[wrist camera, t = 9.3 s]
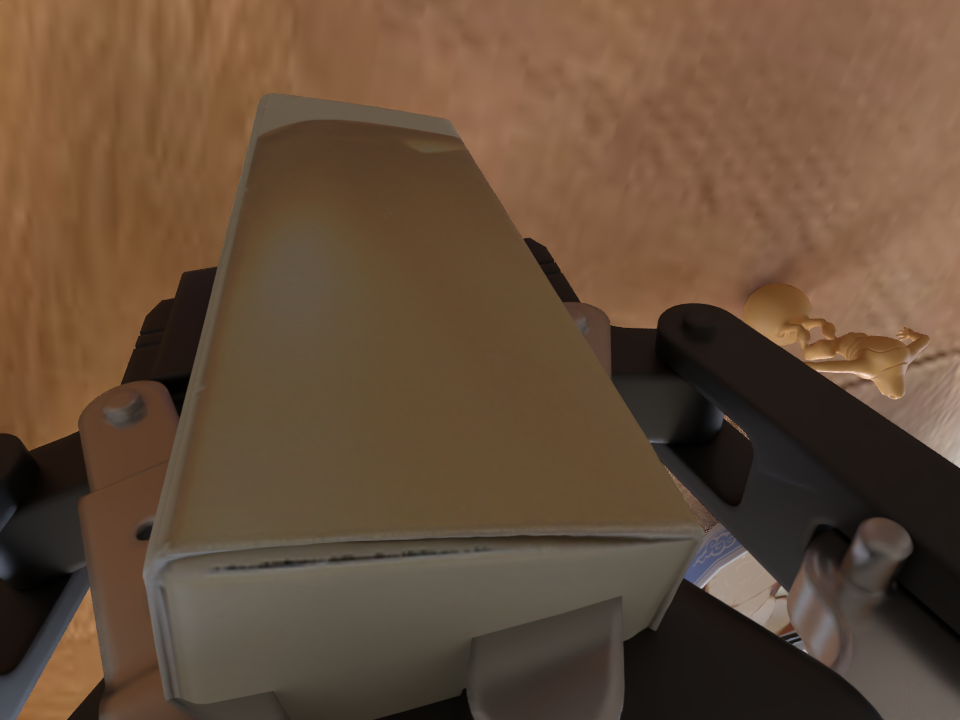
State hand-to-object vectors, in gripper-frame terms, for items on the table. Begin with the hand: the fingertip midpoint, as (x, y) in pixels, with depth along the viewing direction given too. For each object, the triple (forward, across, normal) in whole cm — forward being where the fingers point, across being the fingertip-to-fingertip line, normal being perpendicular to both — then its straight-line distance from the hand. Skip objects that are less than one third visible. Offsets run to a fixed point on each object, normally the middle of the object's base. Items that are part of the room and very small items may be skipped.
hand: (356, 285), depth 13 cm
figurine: (+19, -24, +16) cm, 34 cm away
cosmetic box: (+3, 0, 0) cm, 3 cm away
